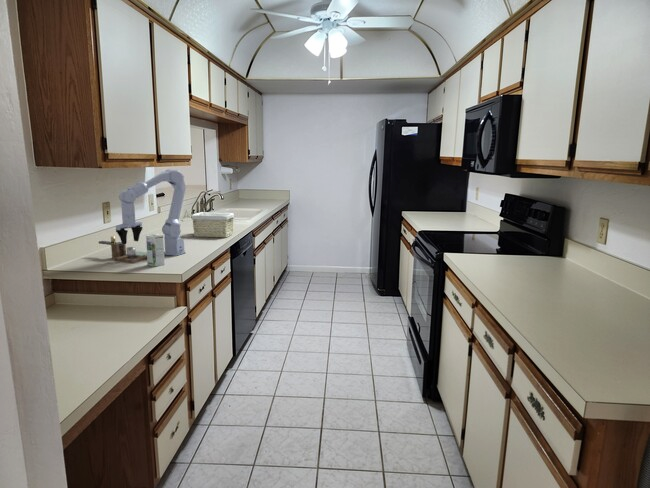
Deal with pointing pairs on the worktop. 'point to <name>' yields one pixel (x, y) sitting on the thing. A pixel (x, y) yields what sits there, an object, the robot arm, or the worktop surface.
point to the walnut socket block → (124, 254)
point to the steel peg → (131, 252)
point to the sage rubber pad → (141, 253)
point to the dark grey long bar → (110, 242)
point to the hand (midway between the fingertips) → (130, 242)
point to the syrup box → (155, 250)
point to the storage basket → (212, 224)
